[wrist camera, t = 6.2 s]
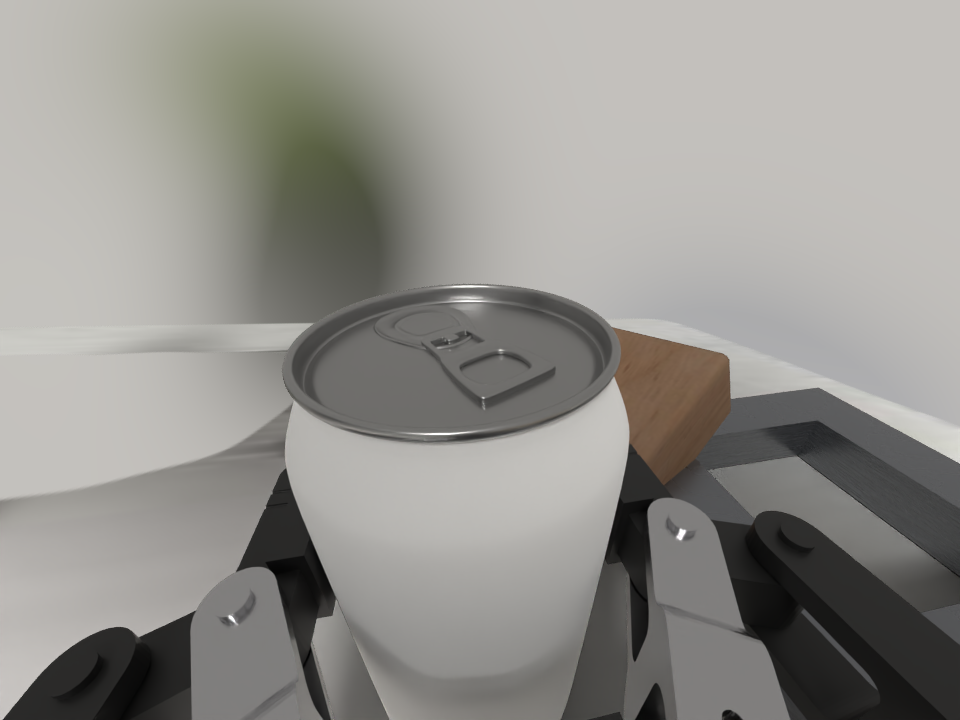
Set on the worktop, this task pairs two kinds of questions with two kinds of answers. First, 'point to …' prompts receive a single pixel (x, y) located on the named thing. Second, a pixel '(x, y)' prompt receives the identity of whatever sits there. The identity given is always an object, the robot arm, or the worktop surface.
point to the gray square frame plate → (837, 476)
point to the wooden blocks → (671, 399)
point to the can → (460, 489)
